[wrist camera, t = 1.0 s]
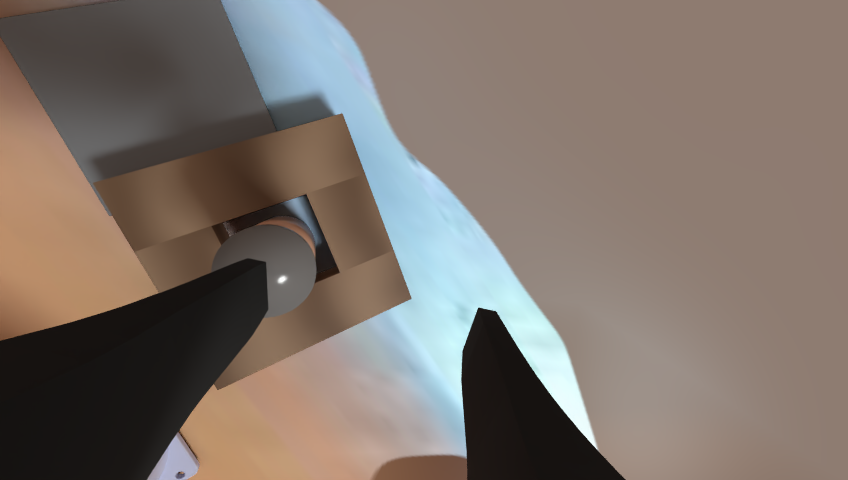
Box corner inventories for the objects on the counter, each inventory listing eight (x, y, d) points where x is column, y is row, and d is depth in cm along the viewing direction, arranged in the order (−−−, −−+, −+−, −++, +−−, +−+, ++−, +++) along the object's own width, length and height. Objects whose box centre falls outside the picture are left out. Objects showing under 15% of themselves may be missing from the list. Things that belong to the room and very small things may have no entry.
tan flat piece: (227, 370, 20) (217, 390, 18) (119, 184, 17) (92, 182, 15) (403, 289, 24) (411, 298, 22) (339, 121, 21) (342, 113, 19)
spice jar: (266, 284, 21) (239, 333, 13) (238, 228, 20) (191, 247, 12) (325, 260, 22) (330, 294, 14) (301, 206, 21) (293, 212, 13)
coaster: (113, 215, 17) (109, 215, 17) (-2, 24, 15) (-10, 19, 15) (289, 161, 20) (289, 160, 20) (216, -10, 18) (214, -14, 17)
